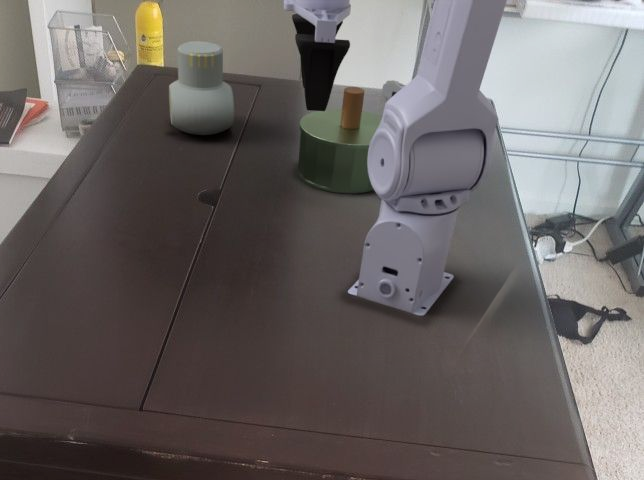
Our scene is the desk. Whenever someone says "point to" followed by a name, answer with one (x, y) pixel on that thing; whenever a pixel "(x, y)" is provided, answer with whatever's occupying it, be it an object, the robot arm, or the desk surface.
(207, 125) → the air freshener
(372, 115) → the lid
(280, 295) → the desk surface
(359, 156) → the tin
